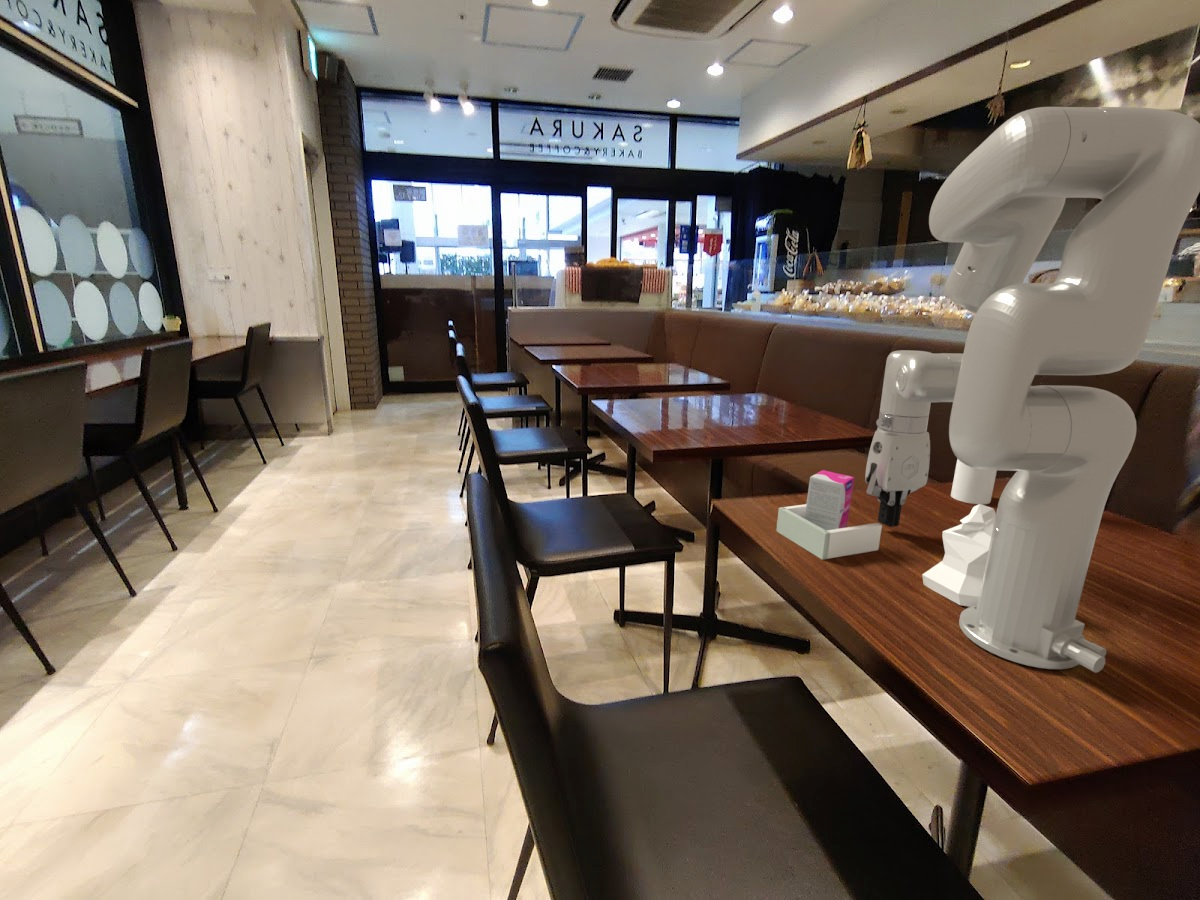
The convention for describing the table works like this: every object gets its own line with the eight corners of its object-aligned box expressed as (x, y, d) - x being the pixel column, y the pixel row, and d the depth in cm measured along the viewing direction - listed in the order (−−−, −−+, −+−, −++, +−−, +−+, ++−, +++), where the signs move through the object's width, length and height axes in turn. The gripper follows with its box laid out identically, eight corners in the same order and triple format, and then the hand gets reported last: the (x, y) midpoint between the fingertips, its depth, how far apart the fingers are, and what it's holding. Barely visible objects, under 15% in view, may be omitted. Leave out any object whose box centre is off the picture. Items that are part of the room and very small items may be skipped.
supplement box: (834, 548, 97) (843, 483, 94) (800, 538, 101) (807, 476, 98) (846, 538, 101) (855, 475, 98) (813, 529, 105) (820, 468, 102)
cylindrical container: (998, 504, 119) (1023, 383, 112) (963, 504, 119) (986, 382, 112) (977, 493, 126) (999, 377, 119) (943, 492, 126) (964, 377, 119)
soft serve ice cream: (991, 638, 75) (979, 539, 72) (908, 590, 90) (895, 506, 86) (1071, 606, 77) (1063, 508, 74) (978, 564, 91) (967, 481, 88)
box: (878, 550, 97) (882, 525, 96) (822, 559, 93) (825, 533, 92) (828, 523, 108) (831, 500, 107) (776, 531, 104) (778, 507, 103)
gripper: (885, 430, 93) (871, 537, 98) (954, 425, 98) (937, 526, 103) (851, 422, 100) (839, 521, 105) (917, 417, 105) (902, 512, 110)
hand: (887, 523), depth 104 cm, fingers closed
